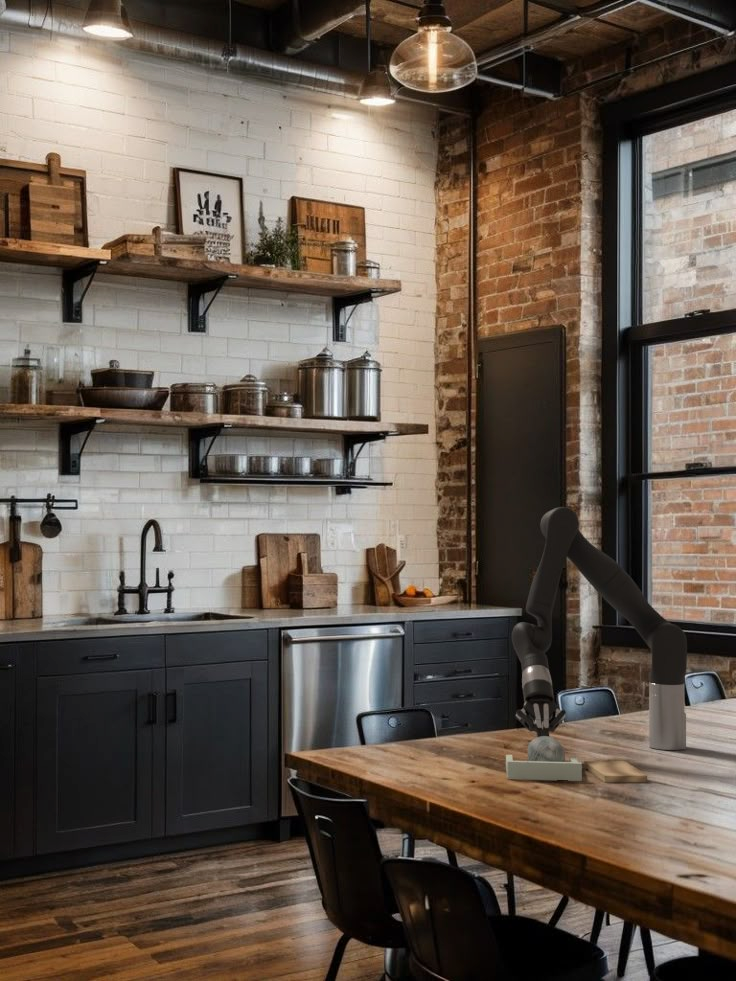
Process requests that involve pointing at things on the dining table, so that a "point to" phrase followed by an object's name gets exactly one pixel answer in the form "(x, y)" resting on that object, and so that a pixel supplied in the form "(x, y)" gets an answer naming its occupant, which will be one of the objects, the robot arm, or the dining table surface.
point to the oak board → (615, 771)
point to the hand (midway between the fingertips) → (544, 743)
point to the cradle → (544, 770)
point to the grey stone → (545, 750)
